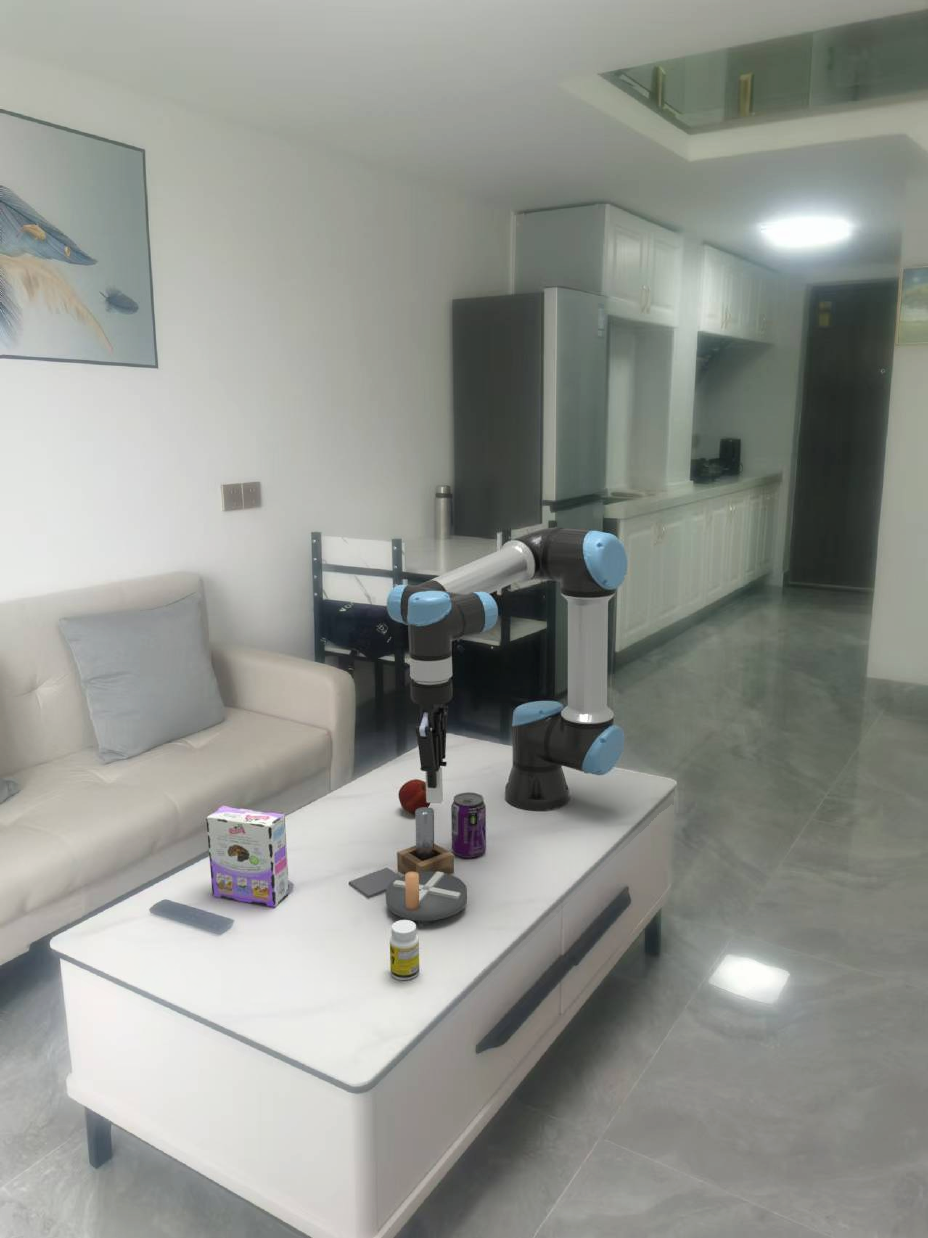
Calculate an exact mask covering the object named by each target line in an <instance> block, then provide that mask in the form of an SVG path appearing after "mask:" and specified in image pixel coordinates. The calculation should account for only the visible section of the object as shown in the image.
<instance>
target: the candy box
mask: <svg viewBox="0 0 928 1238" xmlns="http://www.w3.org/2000/svg"><path fill="white" fill-rule="evenodd" d="M205 820H206V830H207V843H208V844H207V845H208V855H209V868H210V879H211V880H210V881H211V892H212V893H211V895H212V896H213V897H214V898H219V899H225V900H232V901H238V902H242V903H249V904H255V905H259V906H265V907H266V906H267V907H273V908H276V907H277V906H278V905H279V904H280V903H281V902H282V901H283V900H284V899H285V898H286V897H285V893H286V890H287V889H288V887H289V888H290V886H289V885H290V884H289V868H288V867H289V865H288V851H287V849H288V847H287V834H286V833H287V832H286V831H287V830H286V815H285V814H284V813H283V814H282V813H275V812H267V811H261V810H255V809H253V810H252V809H245V808H239V807H233V806H227V805H222V806H221V807H219V808H218V809H216V810H214V811H213V812H212V813H211V814H209V815H208V816H207V817H206V818H205Z"/></svg>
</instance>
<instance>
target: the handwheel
mask: <svg viewBox="0 0 928 1238" xmlns="http://www.w3.org/2000/svg"><path fill="white" fill-rule="evenodd" d="M400 876H401V875H400ZM467 902H468V887H467V885H466V884H465V882H464V881H463V880H462V879H460V878H459V877H457V876H454V875H452V874H447V873H443V872H438V871H437V872H434V871H423V872H408V873H406V874H405V875H404V874H402V876H401V877H399V878H397V879H395V880H394V881H392V882H391V883H390V884H389V885H388V887H387V889H386V892H385V904H386V907H387V909H388V910H390V912H391V913H393V914H395V915H397V916H399V917H401V918H404V919H406V920H410V921H414V920H419V921H429V920H434V921H436V920H437V921H438V920H441V919H442V920H443V919H446V918H449V917H451V916H454V915H456V914H457V913H459V912H460V911H462V910H463V908H465V906H466V904H467Z"/></svg>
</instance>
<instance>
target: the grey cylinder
mask: <svg viewBox="0 0 928 1238" xmlns="http://www.w3.org/2000/svg"><path fill="white" fill-rule="evenodd" d="M434 811H435V810H434V809H433V808H432V807H422V808H418V809H416V811H415V814H414V816H415V845H416V857H417V858H418V859H420V860H422V861H425V860H428V859H430V858H433V857H434V843H435V815H434V814H435V812H434Z"/></svg>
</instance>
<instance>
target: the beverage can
mask: <svg viewBox="0 0 928 1238" xmlns="http://www.w3.org/2000/svg"><path fill="white" fill-rule="evenodd" d="M486 811H487V807H486V804H485V801H484V797H483V795H482V794H479V793H476V792H470V791H469V792H461V793H458V794H455V796H453V802H452V804H451V816H450V817H451V851H452V853H453V854H455V855H457V856H460V857H462V858H468V859H469V858H475V857H478V856H481V855H483V854H484V853H485V852H486V850H487V827H486V825H487V824H486V822H487V821H486V819H487V816H486V815H487V813H486Z"/></svg>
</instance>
